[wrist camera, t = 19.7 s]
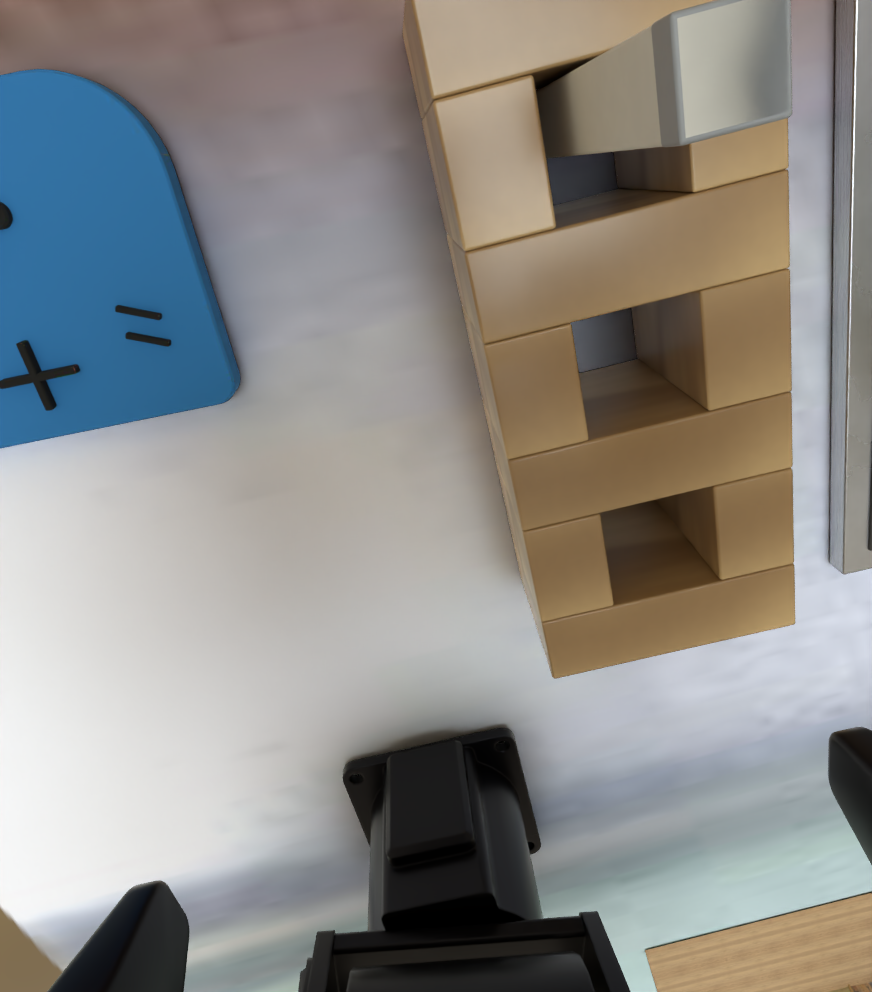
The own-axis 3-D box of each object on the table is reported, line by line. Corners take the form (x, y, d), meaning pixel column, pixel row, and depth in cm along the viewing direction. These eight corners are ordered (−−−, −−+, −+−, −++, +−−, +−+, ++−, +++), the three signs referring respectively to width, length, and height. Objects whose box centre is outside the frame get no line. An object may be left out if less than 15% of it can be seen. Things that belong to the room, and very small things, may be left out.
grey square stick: (586, 146, 18) (794, 116, 8) (531, 160, 18) (679, 147, 9) (578, 83, 17) (792, -21, 8) (521, 98, 17) (669, 11, 8)
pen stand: (715, 534, 23) (796, 625, 18) (521, 580, 23) (553, 679, 18) (673, -44, 16) (785, -131, 11) (401, 31, 16) (405, -25, 12)
